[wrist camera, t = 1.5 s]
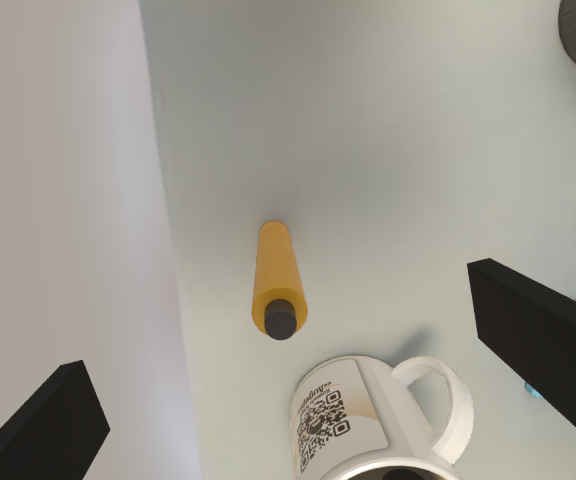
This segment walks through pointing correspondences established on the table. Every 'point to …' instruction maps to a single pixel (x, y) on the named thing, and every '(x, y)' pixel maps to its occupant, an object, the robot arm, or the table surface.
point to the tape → (568, 26)
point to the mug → (375, 422)
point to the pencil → (277, 285)
